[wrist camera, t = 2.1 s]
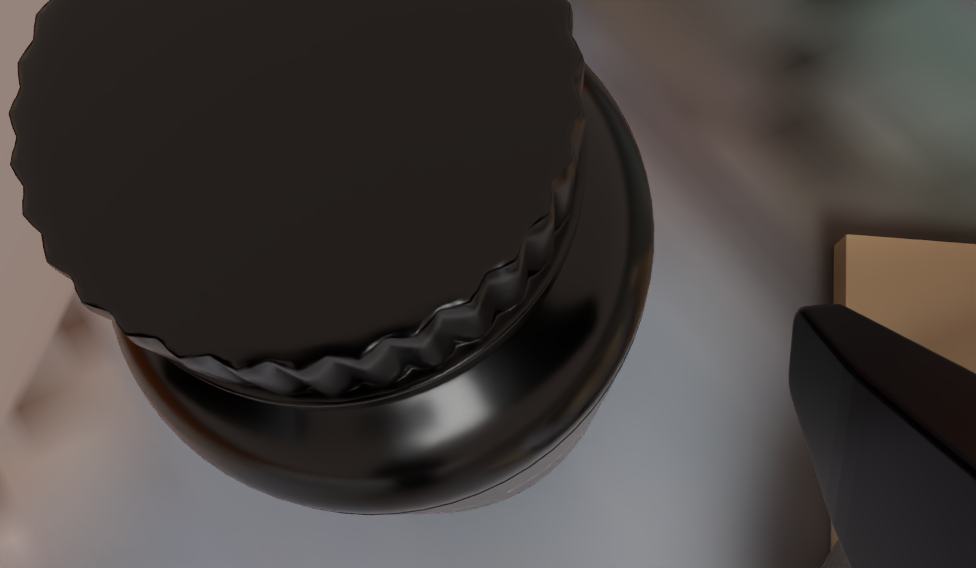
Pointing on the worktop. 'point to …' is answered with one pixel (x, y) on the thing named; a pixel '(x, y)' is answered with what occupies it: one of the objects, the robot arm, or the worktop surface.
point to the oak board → (912, 292)
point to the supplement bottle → (344, 232)
